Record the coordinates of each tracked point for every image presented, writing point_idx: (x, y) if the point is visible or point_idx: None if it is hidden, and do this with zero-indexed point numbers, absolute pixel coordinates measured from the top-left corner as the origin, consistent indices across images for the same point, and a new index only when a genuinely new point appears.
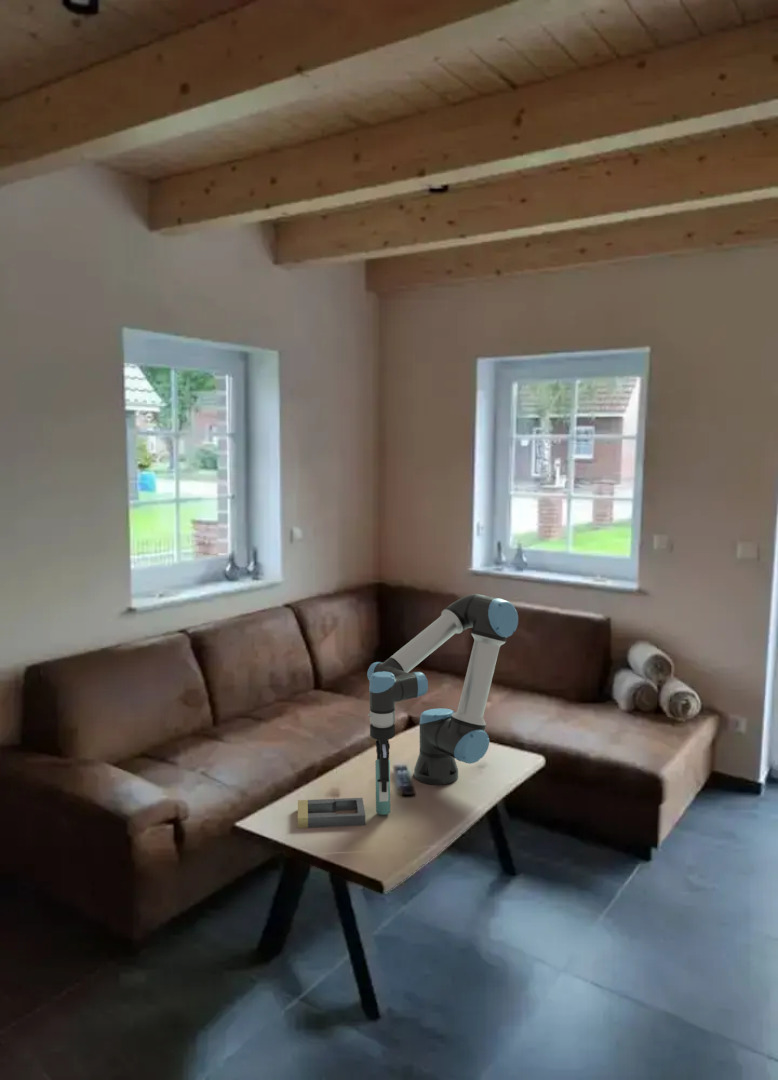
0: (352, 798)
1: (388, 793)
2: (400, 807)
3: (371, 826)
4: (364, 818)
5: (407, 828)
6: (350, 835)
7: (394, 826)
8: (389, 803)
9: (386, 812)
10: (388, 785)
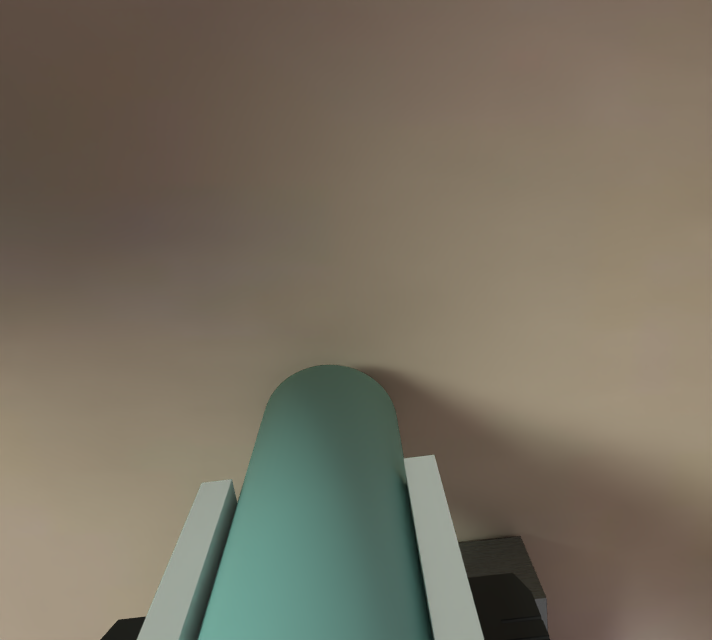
0: None
1: (384, 501)
2: (159, 260)
3: (533, 489)
4: (537, 582)
5: (593, 191)
6: (662, 616)
7: (545, 310)
8: (362, 415)
9: (389, 404)
10: (393, 592)
